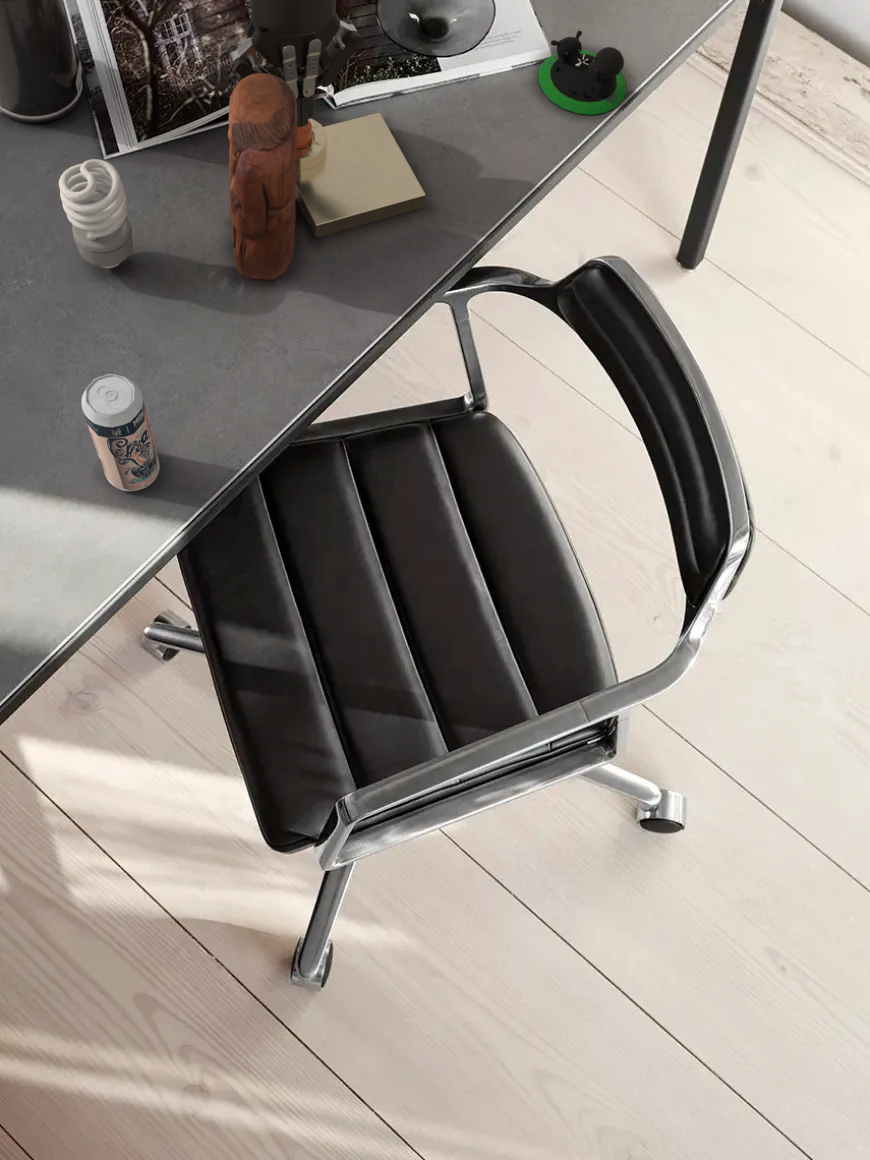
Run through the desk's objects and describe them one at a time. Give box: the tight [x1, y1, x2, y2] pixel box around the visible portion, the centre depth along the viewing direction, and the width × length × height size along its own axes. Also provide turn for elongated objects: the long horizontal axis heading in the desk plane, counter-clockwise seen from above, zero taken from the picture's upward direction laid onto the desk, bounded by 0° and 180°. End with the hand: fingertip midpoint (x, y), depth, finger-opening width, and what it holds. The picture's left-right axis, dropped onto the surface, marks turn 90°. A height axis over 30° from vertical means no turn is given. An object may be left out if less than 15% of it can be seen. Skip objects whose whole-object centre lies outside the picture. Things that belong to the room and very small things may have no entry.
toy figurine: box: [538, 30, 627, 116], centre depth 123 cm, size 10×10×6 cm
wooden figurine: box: [227, 73, 298, 280], centre depth 104 cm, size 12×6×18 cm, turn 179°
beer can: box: [81, 373, 160, 492], centre depth 95 cm, size 5×5×12 cm
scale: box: [295, 112, 427, 239], centre depth 115 cm, size 13×13×4 cm
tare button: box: [296, 120, 312, 150], centre depth 113 cm, size 3×3×2 cm
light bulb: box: [58, 158, 134, 269], centre depth 104 cm, size 6×6×12 cm
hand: (297, 121), depth 112 cm, fingers closed
